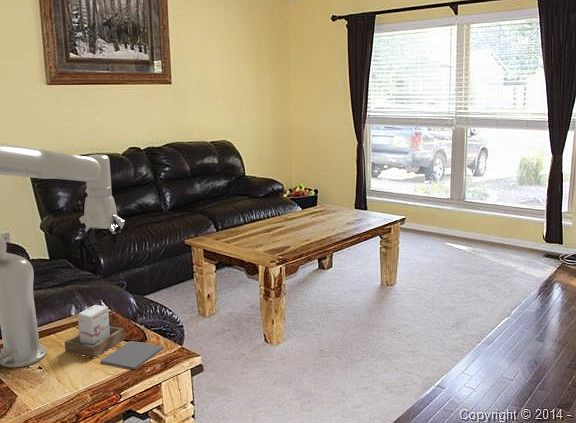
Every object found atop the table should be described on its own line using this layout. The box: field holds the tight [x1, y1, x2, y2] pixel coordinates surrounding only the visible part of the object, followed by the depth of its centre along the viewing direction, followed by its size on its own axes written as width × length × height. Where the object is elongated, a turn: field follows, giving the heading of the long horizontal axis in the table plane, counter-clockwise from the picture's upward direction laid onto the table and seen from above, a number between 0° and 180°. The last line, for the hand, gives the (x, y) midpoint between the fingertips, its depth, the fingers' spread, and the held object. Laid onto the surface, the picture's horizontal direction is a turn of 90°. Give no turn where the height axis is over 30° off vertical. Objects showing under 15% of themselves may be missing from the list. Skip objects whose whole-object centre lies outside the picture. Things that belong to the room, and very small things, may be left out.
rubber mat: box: [100, 340, 164, 370], centre depth 165 cm, size 14×12×1 cm
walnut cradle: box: [64, 325, 126, 359], centre depth 172 cm, size 14×11×4 cm
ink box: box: [77, 304, 110, 345], centre depth 171 cm, size 9×5×12 cm, turn 161°
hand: (103, 243), depth 185 cm, fingers open, 9 cm apart
